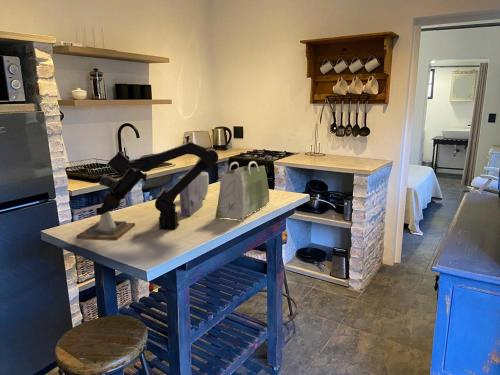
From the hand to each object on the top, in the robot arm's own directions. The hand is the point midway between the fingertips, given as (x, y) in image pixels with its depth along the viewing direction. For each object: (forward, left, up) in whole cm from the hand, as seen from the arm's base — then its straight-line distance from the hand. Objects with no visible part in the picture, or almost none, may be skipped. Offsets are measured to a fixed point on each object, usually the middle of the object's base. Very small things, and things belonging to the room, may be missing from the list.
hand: (101, 210), depth 144 cm
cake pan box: (-27, -31, -9) cm, 43 cm away
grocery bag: (-51, -34, -9) cm, 62 cm away
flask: (-1, 0, -8) cm, 8 cm away
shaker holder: (-1, 0, -9) cm, 9 cm away
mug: (-24, -54, -9) cm, 60 cm away
